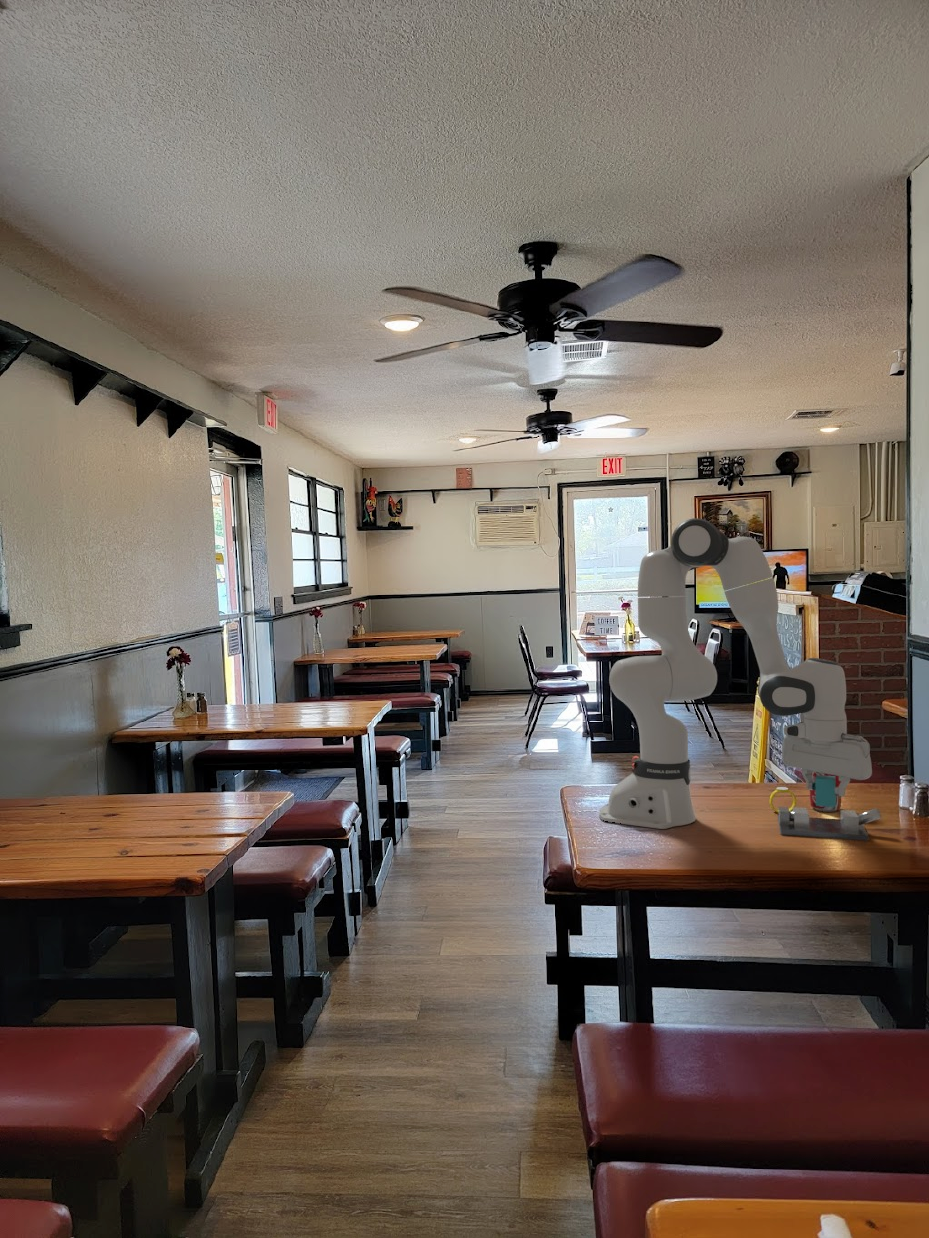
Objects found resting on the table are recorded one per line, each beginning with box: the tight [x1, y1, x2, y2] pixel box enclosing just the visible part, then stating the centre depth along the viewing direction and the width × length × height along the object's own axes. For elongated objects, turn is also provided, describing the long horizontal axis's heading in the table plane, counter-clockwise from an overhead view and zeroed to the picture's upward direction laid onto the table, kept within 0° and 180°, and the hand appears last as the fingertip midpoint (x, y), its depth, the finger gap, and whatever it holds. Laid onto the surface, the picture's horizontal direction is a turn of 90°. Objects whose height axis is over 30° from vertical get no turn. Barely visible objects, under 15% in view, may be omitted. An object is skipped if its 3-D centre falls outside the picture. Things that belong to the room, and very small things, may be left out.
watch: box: [768, 786, 797, 814], centre depth 194 cm, size 6×3×6 cm, turn 85°
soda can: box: [809, 771, 842, 813], centre depth 195 cm, size 7×7×12 cm
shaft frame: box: [777, 806, 883, 842], centre depth 178 cm, size 21×11×6 cm, turn 72°
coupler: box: [815, 775, 836, 807], centre depth 179 cm, size 4×4×6 cm
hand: (825, 792), depth 179 cm, fingers closed on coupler, 6 cm apart
